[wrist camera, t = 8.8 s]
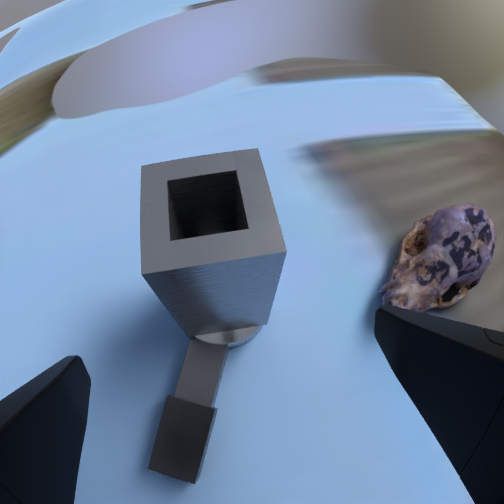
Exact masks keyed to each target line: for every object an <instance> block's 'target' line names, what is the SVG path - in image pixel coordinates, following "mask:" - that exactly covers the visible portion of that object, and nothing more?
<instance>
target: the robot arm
mask: <svg viewBox="0 0 504 504" xmlns="http://www.w3.org/2000/svg"><path fill="white" fill-rule="evenodd" d="M374 334H375V338H376V340H377V342H378V344H379V345H380V347H381V349H382V351H383V353H384V355H385V357H386V359H387V361H388V363H389V365H390V367H391V369H392V370H393V372H394V374H395V376H396V377H397V379H398V380H399V382H400V383H401V385H402V386H403V388H404V389H405V391H406V392H407V394H408V395H409V397H410V398H411V400H412V401H413V403H414V405H415V406H416V408H417V409H418V411H419V412H420V414H421V415H422V417H423V418H424V420H425V422H426V423H427V425H428V426H429V428H430V429H431V431H432V433H433V434H434V436H435V437H436V439H437V441H438V442H439V444H440V445H441V447H442V449H443V450H444V452H445V454H446V455H447V457H448V458H449V460H450V462H451V463H452V465H453V467H454V468H455V470H456V472H457V473H458V475H460V476H459V477H460V479H461V480H462V482H463V484H464V486H465V487H466V489H467V491H468V492H469V494H470V496H471V498H472V499H473V501H474V503H475V504H504V332H500V331H496V330H491V329H487V328H483V329H482V327H478V326H474V325H470V324H466V323H462V322H458V321H453V320H449V319H445V318H441V317H437V316H433V315H429V314H425V313H421V312H417V311H413V310H409V309H405V308H401V307H397V306H393V305H385V306H381V307H378V308H377V309H376V313H375V326H374ZM90 388H91V379H90V376H89V374H88V372H87V370H86V367H85V365H84V363H83V361H82V359H81V357H80V356H78V355H74V356H67V357H65V358H63V359H62V360H60V361H59V362H57V363H56V364H54V365H53V366H51V367H50V368H48V369H47V370H45V371H44V372H42V373H41V374H39V375H38V376H36V377H35V378H33V379H32V380H30V381H29V382H27V383H26V384H24V385H23V386H21V387H20V388H18V389H17V390H15V391H14V392H13V393H11V394H10V395H8V396H7V397H5V398H4V399H2V400H1V401H0V504H74V499H75V491H76V483H77V476H78V470H79V464H80V457H81V452H82V446H83V441H84V436H85V430H86V425H87V416H88V406H89V397H90Z"/></svg>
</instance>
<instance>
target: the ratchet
mask: <svg viewBox="0 0 504 504" xmlns="http://www.w3.org/2000/svg"><path fill="white" fill-rule="evenodd" d="M262 327H263V325H260V326H255V327H249V328H243V329H237V330H231V331H225V332H219V333H212V334H206V335H199V336H192V337H191V339H190V342H189V346H188V349H187V352H186V356H185V359H184V363H183V366H182V369H181V373H180V376H179V380H178V383H177V387H176V390H175V394H174V396H172V395H168V396H167V400H166V403H165V407H164V410H163V414H162V418H161V421H160V425H159V429H158V433H157V436H156V440H155V444H154V448H153V451H152V455H151V459H150V463H149V467H148V469H151V470H153V471H156V472H159V473H162V474H165V475H168V476H171V477H174V478H177V479H180V480H183V481H187V482H190V483H193V484H195V483H196V481H197V480H198V478H199V476H200V473H201V469H202V465H203V462H204V458H205V454H206V450H207V447H208V443H209V439H210V435H211V432H212V428H213V424H214V421H215V417H216V413H217V409H218V408H214V403H215V399H216V395H217V392H218V388H219V384H220V380H221V377H222V373H223V369H224V365H225V362H226V358H227V354H228V350H229V348H234V347H237V346H240V345H243V344H245V343H247V342H248V341H250V340H251V339H252V338H254V337H255V336H256V335H257V334H258V332H259V331H260V330H261V328H262Z"/></svg>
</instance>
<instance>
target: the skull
mask: <svg viewBox="0 0 504 504" xmlns="http://www.w3.org/2000/svg"><path fill="white" fill-rule="evenodd" d="M420 234H421V236H420V237H419V238H418V240H417V236H418V235H420ZM495 242H496V233H495V226H494V223H493V221H492V219H491V218H490V217H489V215H488V213H487V212H486V211H485V210H484V209H483V208H480V207H477V206H475V205H472V204H469V203H467V204H459V205H453V206H450V207H445V208H442V209H440V210H438V211H437V212H435V214H434V215H429V216H427V217H426V218H424V219H422V220H421V221H416V222H414V227H413V229H412V230H411V231H410V232H409V233H408V234H407V235H405V236H404V237H403V239H402V240H401V243H400V248H399V256H398V258H397V259H396V261H395V263H394V266H393V268H392V269H391V271H390V272H389V273H388V278H387V283H386V284H384V285H383V286H382V287H381V288H380V289H379V290H378V292H379V293H381V292H384V291H387V292H386V293H385V295H384V296H383V297H382V300H383V302H382V305H384V304H385V303H386V305H393V306H397V307H401V308H405V309H409V310H413V311H417V312H421V313H424V312H425V311H426V310H428V309H433V308H434V307H438V308H440V309H441V308H447V307H450V306H452V305H454V304H455V303H457V302H458V301H459V300H461V299H463V298H465V297H466V296H467V294H468V290H470V289H471V288H472V287H474V286H476V285H477V284H478V283H479V281H480V279H481V277H482V275H483V274H484V272H485V271H486V269H487V267H488V265H489V264H490V263H491V262H492V257H493V250H494V248H495ZM423 243H424V246H423V245H421V244H423ZM452 284H454V285H456V288H457V290H458V292H457V294H456V295H454V296H453V297H452V299H450V300H449V301H446V302H442V299H443V298H442V297H441V296H442V295H443V294H444V293H445V292H447V290H448V289H449V288H450V286H451V285H452Z"/></svg>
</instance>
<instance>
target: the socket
mask: <svg viewBox="0 0 504 504" xmlns="http://www.w3.org/2000/svg"><path fill="white" fill-rule="evenodd" d="M140 241H141V274H142V276H143V277H144V279H145V280H146V281H147V283H148V284H149V286H150V287H151V288H152V290H153V291H154V293H155V294H156V295H157V297H158V298H159V299H160V301H161V302H162V303H163V305H164V306H165V307H166V309H167V310H168V311H169V313H170V314H171V315H172V317H173V318H174V319H175V321H176V322H177V323H178V324H179V326H180V327H181V328H182V330H183V331H184V332H185V333H186V335H187V336H188V337H192V336H199V335H206V334H212V333H219V332H225V331H231V330H237V329H243V328H249V327H255V326H260V325H266V324H267V322H268V318H269V315H270V311H271V308H272V304H273V300H274V297H275V293H276V290H277V286H278V282H279V279H280V275H281V271H282V267H283V264H284V260H285V256H286V252H287V250H286V247H285V243H284V239H283V236H282V232H281V228H280V225H279V221H278V217H277V214H276V210H275V206H274V203H273V199H272V196H271V192H270V189H269V185H268V182H267V178H266V175H265V171H264V168H263V164H262V161H261V157H260V154H259V151H258V148H257V149H248V150H239V151H231V152H224V153H216V154H209V155H202V156H196V157H189V158H183V159H177V160H171V161H166V162H160V163H155V164H149V165H144V166H141V199H140Z"/></svg>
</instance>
